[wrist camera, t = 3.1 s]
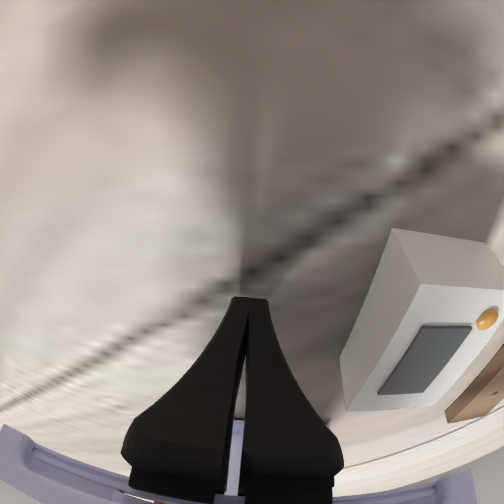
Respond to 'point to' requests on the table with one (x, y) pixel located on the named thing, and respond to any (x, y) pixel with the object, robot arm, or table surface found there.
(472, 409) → the batten
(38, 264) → the table surface
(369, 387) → the box
